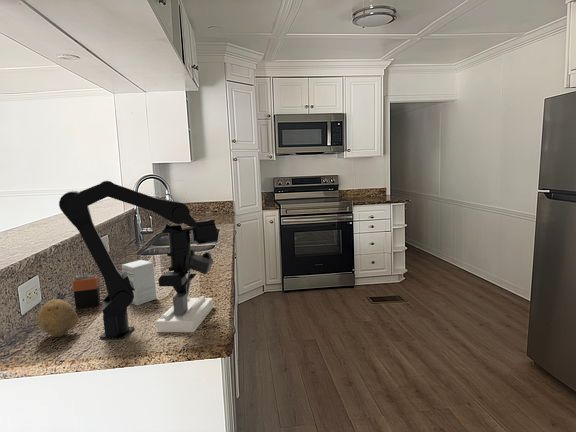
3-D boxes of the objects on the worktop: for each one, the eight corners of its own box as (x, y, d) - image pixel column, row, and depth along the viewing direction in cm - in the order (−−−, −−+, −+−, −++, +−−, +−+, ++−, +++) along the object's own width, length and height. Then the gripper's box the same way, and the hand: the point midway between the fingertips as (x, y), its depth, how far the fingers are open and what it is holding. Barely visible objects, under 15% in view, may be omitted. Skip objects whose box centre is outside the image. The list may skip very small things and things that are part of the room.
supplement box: (145, 295, 139) (141, 259, 137) (157, 299, 134) (153, 262, 132) (124, 301, 133) (120, 264, 131) (136, 305, 128) (132, 267, 127)
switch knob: (184, 314, 110) (182, 297, 109) (174, 314, 110) (172, 297, 109) (188, 310, 113) (186, 293, 112) (178, 310, 113) (176, 293, 112)
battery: (78, 304, 133) (74, 274, 131) (100, 301, 135) (97, 272, 133) (75, 309, 128) (71, 278, 127) (98, 305, 130) (95, 275, 129)
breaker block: (193, 332, 106) (192, 317, 106) (157, 332, 107) (155, 317, 107) (213, 307, 124) (212, 294, 123) (181, 307, 125) (180, 295, 124)
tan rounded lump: (32, 338, 107) (27, 302, 106) (66, 326, 114) (62, 292, 113) (50, 345, 102) (45, 307, 101) (84, 332, 109) (79, 297, 108)
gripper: (197, 254, 102) (202, 313, 104) (217, 239, 120) (221, 290, 123) (155, 255, 103) (160, 313, 105) (181, 240, 122) (185, 290, 124)
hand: (184, 301), depth 114 cm, fingers closed
